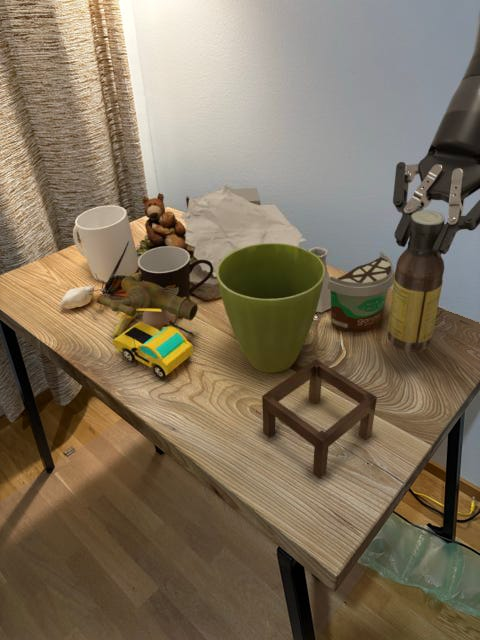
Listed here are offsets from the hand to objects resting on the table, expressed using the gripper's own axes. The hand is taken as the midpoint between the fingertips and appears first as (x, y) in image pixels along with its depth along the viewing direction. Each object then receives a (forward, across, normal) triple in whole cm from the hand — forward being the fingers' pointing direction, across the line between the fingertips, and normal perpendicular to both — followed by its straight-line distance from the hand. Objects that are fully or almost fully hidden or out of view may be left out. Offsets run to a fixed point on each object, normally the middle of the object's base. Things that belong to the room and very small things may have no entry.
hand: (417, 249), depth 67 cm
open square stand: (+27, -3, +2) cm, 27 cm away
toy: (+2, -39, +20) cm, 44 cm away
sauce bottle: (+10, 0, +13) cm, 16 cm away
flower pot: (+21, -17, +9) cm, 28 cm away
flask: (+9, -19, +20) cm, 29 cm away
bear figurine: (+11, -52, +18) cm, 56 cm away
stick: (+21, -31, +3) cm, 38 cm away
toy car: (+28, -32, +1) cm, 42 cm away
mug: (+19, -58, +10) cm, 61 cm away
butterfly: (+22, -51, +3) cm, 56 cm away
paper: (-7, -42, +14) cm, 45 cm away
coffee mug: (+20, -37, +9) cm, 43 cm away
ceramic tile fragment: (+17, -39, +10) cm, 43 cm away
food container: (+9, -9, +20) cm, 24 cm away
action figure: (+17, -36, +3) cm, 40 cm away
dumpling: (+26, -53, +2) cm, 60 cm away
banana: (+26, -43, +2) cm, 50 cm away
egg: (+20, -37, +6) cm, 42 cm away
